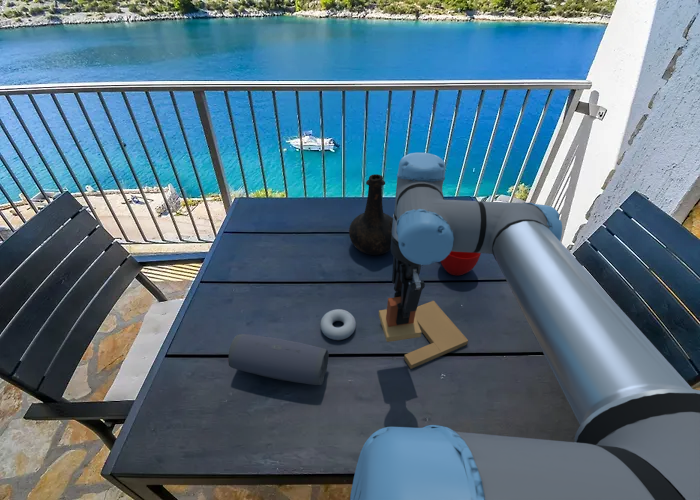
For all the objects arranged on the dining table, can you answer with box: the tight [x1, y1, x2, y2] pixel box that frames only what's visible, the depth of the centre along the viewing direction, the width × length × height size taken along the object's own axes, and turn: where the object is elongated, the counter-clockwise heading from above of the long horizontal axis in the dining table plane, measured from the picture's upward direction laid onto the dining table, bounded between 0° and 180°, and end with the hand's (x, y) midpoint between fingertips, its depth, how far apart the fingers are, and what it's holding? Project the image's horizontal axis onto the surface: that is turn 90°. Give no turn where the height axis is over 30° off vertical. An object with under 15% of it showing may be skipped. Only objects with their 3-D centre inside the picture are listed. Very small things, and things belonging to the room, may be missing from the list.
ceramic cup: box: [440, 251, 482, 276], centre depth 117 cm, size 13×17×10 cm
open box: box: [378, 296, 423, 343], centre depth 79 cm, size 8×8×9 cm
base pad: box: [403, 300, 469, 370], centre depth 97 cm, size 16×18×2 cm
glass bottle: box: [348, 173, 393, 256], centre depth 119 cm, size 18×18×28 cm
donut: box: [319, 308, 357, 341], centre depth 98 cm, size 10×3×10 cm
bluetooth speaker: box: [227, 333, 330, 386], centre depth 85 cm, size 23×9×10 cm, turn 78°
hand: (400, 317), depth 80 cm, fingers closed on open box, 2 cm apart
